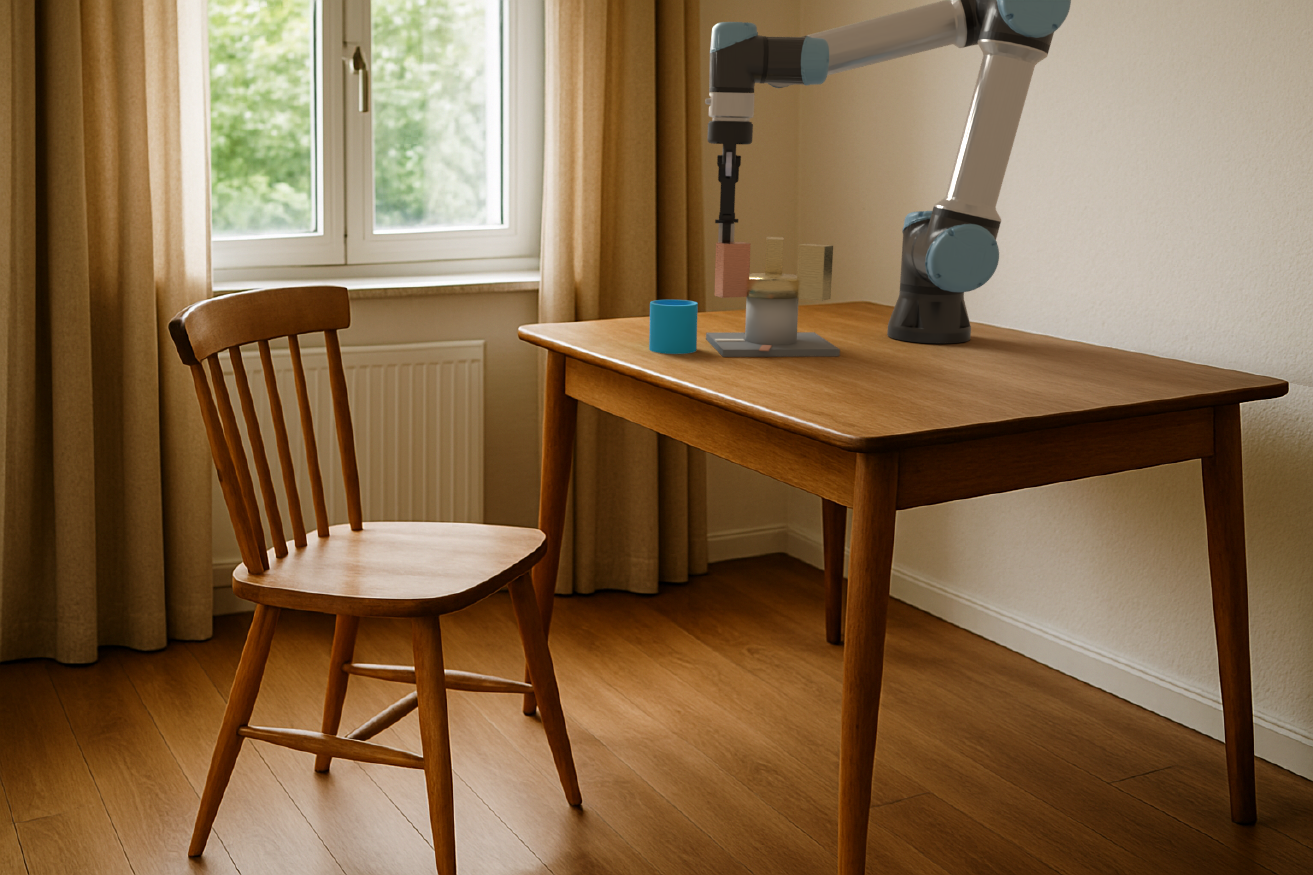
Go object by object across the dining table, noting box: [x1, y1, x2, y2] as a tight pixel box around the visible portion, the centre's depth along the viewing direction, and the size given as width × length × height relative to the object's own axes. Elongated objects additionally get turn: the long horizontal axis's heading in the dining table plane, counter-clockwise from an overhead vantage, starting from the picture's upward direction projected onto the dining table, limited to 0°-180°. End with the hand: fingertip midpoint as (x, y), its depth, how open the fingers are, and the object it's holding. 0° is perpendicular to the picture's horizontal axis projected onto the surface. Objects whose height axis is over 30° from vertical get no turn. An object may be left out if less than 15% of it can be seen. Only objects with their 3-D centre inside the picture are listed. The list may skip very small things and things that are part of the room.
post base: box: [705, 297, 841, 358], centre depth 217 cm, size 20×20×9 cm
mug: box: [648, 299, 699, 355], centre depth 216 cm, size 12×8×8 cm
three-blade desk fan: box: [714, 236, 834, 302], centre depth 215 cm, size 17×20×9 cm
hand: (725, 261), depth 214 cm, fingers closed
